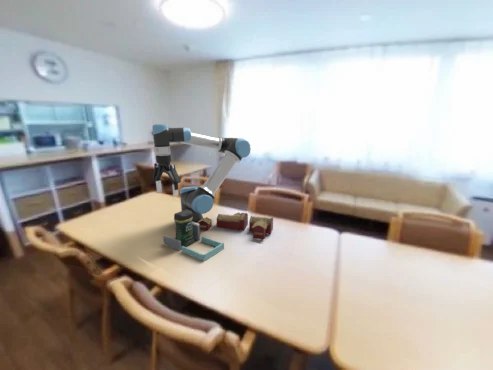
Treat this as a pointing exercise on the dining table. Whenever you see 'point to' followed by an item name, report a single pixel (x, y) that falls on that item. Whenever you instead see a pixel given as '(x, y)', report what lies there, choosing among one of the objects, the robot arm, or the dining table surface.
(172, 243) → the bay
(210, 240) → the teal u-shaped frame
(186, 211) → the coffee jar
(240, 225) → the toy houses
